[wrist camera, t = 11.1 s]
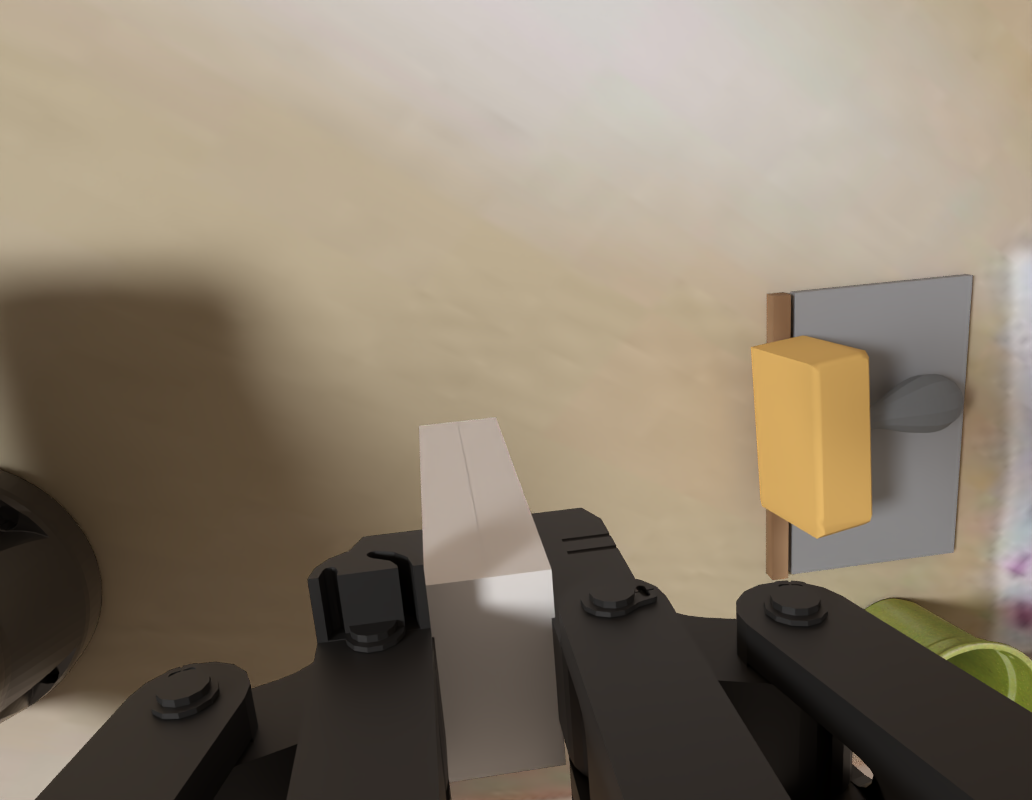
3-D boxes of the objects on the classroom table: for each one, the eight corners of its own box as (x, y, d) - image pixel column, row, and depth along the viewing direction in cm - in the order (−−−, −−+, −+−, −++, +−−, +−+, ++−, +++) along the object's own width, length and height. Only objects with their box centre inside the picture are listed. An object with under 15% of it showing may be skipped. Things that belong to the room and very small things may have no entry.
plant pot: (922, 547, 53) (1017, 614, 45) (971, 653, 56) (1069, 735, 48) (798, 619, 54) (869, 699, 45) (853, 721, 56) (929, 814, 48)
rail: (766, 572, 52) (772, 580, 51) (766, 293, 48) (774, 296, 47) (781, 570, 52) (788, 578, 51) (783, 292, 48) (790, 294, 47)
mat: (787, 570, 52) (792, 574, 52) (790, 291, 48) (795, 293, 47) (947, 548, 54) (953, 552, 53) (966, 274, 49) (972, 275, 48)
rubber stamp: (757, 504, 49) (919, 458, 52) (819, 541, 44) (995, 487, 47) (747, 346, 47) (918, 307, 50) (812, 365, 41) (999, 319, 44)
